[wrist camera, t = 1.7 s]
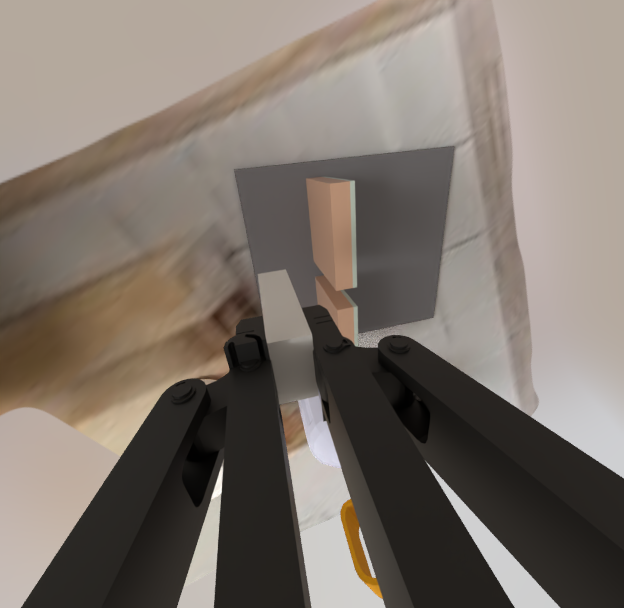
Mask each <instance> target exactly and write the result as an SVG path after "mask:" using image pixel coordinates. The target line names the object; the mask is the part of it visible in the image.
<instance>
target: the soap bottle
mask: <svg viewBox="0 0 624 608" xmlns="http://www.w3.org/2000/svg"><path fill="white" fill-rule="evenodd" d="M318 393H319V396H315V397H311V398H307V399H303V400H298V404H299V408H300V412H301V416H302V420H303V424H304V429H305V433H306V437H307V441H308V445H309V448H310V450H311V453H312V454H313V455H314V457H315V458H316V459H317V460H318V461H320V462H321V463H322V464H325V465H329V466H332V467H336V468H341V465H340V462H339V459H338V456H337V453H336V450H335V447H334V443H333V440H332V437H331V434H330V431H329V428H328V425H327V421H324V422H323V413H322V404H321V395H320V392H319V389H318ZM340 512H341V521H342V524H343V528H344V531H345V535H346V538H347V542H348V545H349V549H350V553H351V556H352V560H353V563H354V567H355V570H356V572H357V574H358V576H359V577H360V579H361V580H362V581H364V583H365V584H366V585H367V586H368V587H370V589H371V590H372V591H373V592H374V593H375V594H376V595H378V596H379V597H380V598H383V597H382V594H381V591H380V588H379V585H378V582H377V579H376V578H372V576H371V573H370V570H369V567H368V563H367V560H366V557H365V554H364V551H363V548H362V544H361V542H360V538H359V527H360V525H359V522H358V519H357V516H356V513H355V509H354V506H353V503H352V500H351V499H350V500H348V501H347V502H345V503H344V504H343V506H342V509H341V511H340Z"/></svg>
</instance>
